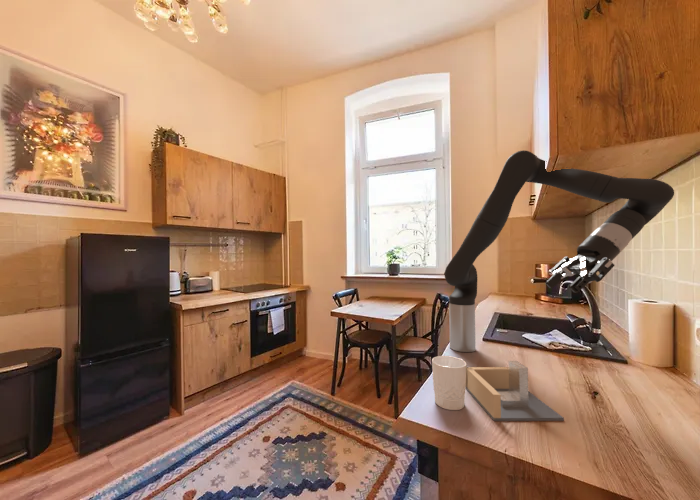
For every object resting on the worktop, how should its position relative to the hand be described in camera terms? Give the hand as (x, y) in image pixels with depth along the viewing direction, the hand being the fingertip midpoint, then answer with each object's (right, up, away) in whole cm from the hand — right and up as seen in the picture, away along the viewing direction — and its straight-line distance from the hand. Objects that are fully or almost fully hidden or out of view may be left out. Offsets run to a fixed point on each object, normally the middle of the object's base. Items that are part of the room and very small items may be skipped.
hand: (559, 288), depth 74 cm
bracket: (-17, -26, -6) cm, 32 cm away
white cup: (-31, -27, -5) cm, 42 cm away
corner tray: (-16, -27, -5) cm, 32 cm away
